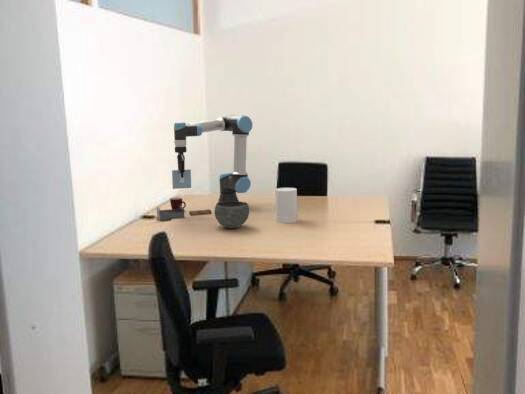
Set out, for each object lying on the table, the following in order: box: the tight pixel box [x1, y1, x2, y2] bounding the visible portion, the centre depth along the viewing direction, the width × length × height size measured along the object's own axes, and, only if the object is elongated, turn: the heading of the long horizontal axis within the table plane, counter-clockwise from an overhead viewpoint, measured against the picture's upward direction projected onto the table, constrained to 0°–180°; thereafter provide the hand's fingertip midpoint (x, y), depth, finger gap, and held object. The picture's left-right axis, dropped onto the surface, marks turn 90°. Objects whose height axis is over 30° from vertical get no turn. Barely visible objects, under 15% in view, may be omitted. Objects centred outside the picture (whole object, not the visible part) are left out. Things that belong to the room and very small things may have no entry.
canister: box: [274, 187, 298, 224], centre depth 365 cm, size 14×14×20 cm
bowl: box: [214, 201, 250, 229], centre depth 351 cm, size 21×21×15 cm
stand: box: [188, 209, 212, 217], centre depth 389 cm, size 14×7×3 cm, turn 108°
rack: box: [156, 205, 185, 222], centre depth 382 cm, size 16×13×7 cm
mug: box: [169, 197, 187, 209], centre depth 399 cm, size 10×8×10 cm
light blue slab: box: [171, 168, 192, 190], centre depth 381 cm, size 12×2×12 cm, turn 109°
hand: (181, 182), depth 381 cm, fingers closed on light blue slab, 2 cm apart
